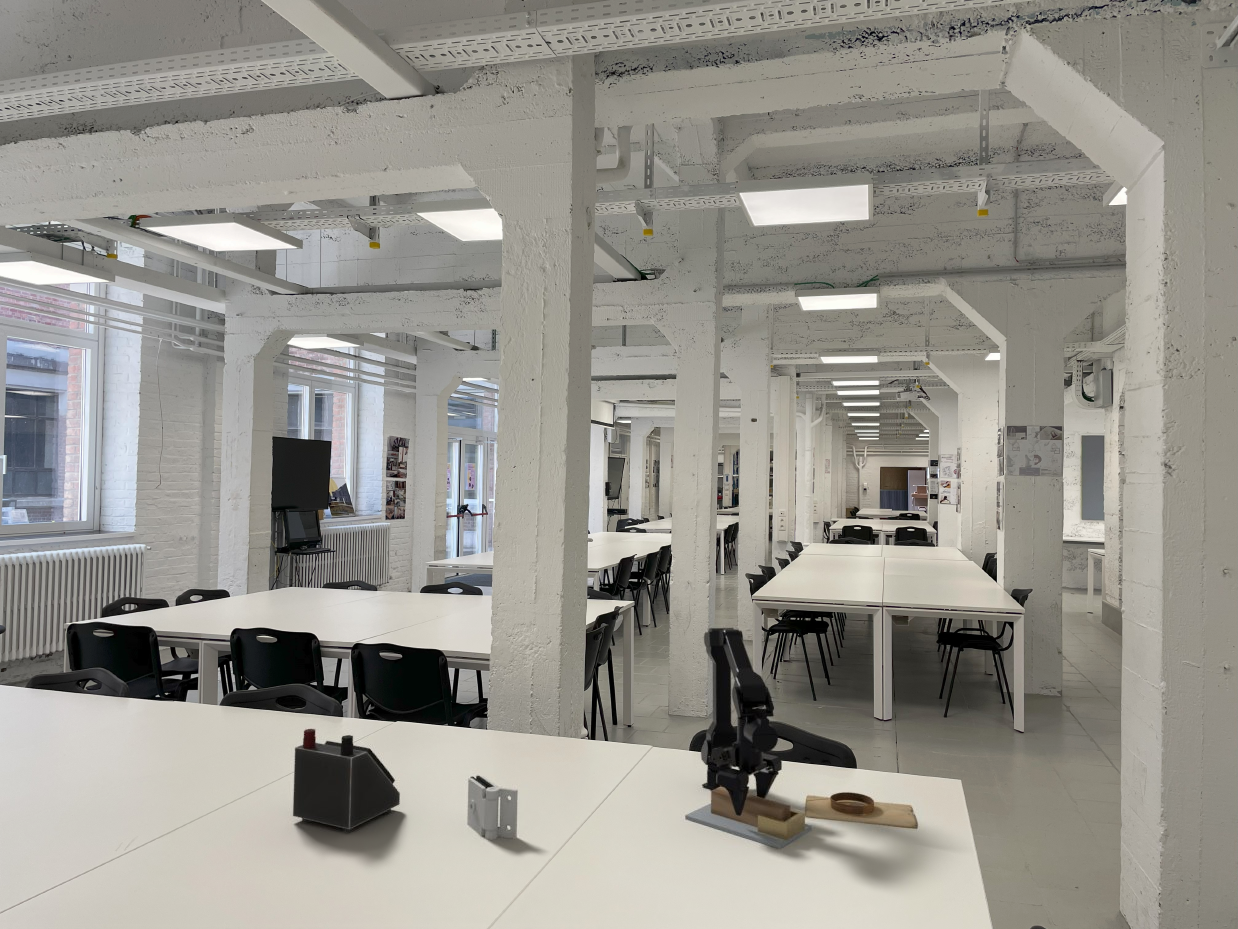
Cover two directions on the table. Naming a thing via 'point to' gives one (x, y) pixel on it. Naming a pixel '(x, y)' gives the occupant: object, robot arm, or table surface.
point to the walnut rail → (747, 807)
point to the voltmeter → (340, 783)
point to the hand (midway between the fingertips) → (749, 809)
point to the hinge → (491, 808)
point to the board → (859, 810)
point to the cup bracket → (782, 825)
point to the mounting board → (738, 827)
